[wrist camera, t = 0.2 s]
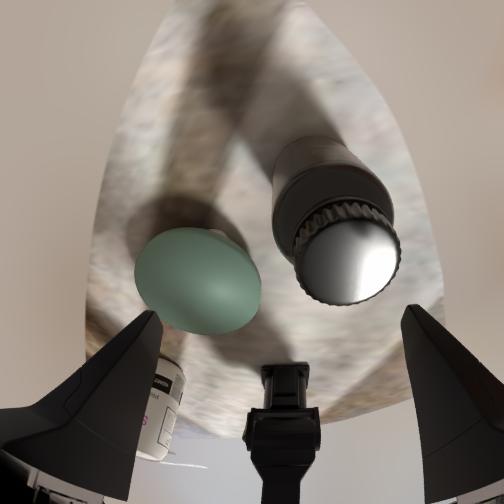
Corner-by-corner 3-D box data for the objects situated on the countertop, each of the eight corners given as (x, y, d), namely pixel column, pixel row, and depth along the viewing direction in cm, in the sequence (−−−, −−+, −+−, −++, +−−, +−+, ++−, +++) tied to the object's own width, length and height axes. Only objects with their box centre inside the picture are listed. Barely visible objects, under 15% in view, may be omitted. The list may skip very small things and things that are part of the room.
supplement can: (167, 386, 42) (145, 461, 29) (129, 360, 38) (98, 439, 26) (197, 377, 38) (177, 465, 26) (156, 348, 35) (122, 441, 23)
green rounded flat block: (266, 315, 29) (264, 336, 27) (164, 313, 31) (156, 332, 28) (256, 213, 23) (253, 230, 20) (132, 222, 24) (117, 238, 22)
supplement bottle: (255, 180, 21) (233, 271, 11) (311, 117, 18) (354, 146, 8) (317, 230, 23) (341, 339, 13) (373, 175, 20) (446, 257, 10)
